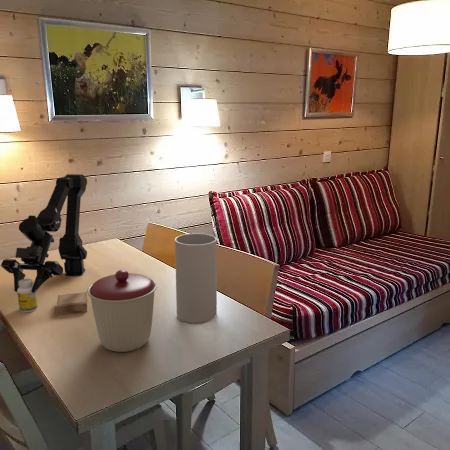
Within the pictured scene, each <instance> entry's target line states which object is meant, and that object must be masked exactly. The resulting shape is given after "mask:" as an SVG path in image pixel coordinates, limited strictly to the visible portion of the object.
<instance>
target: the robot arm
mask: <svg viewBox="0 0 450 450" xmlns="http://www.w3.org/2000/svg"><path fill="white" fill-rule="evenodd" d="M87 186H88V179H87V177H85V175H84V174H76V173H75V174H73V173H72V174H71V173H67V174H66V175H65V176H61V177H60V176H59V177H57V178H56V181H55V186H54V188H53V191H52V193H51V195H50V198H49V200H48V203H47V205H46V206H45V208H43V209H42V210H40V212H39V213H38V214H37V217H36V215H31V214H30V215H28V217H27V218H25V219H23V220H22V221H21V222H20V223H19V224H18V230H19V231H20V233H21V234H23V236H24V237H25V238H26V239H27V240H28V241H31V243H30V245H29V246H26V248H25V247H16V250H15V256H14V257H15V258H14V259H13V258H12V259H11V258H5V259H3V260H2V262H1V264H0V267H1V268H3V270H4V271H6V272H7V273H9V274H12V275H13V285H14V286H13V287H14V288H13V289H14V290H13V291H14V292H15V293H17V290H18V288H19V281H20V280H22V279H26V274H25V273H23V272H24V270H28V271H36V277H35V280H34V282H33V287H32V293H34V292H35V291H36V292H37V290H39V289H40V287H41V286H42V285H43V284H44V283H46V282H47V281H48V280H49V279H50V278H53V277H54V276H56V277H57V276H60V277H62V276H63V273H65V274H64V276H67V277H69V276H74V277H75V276H83V275H84V273H85V272H86V268H85V266H84V265H85V263H84V260H87V256H88V251H87V250H86V249H85V247H84V246H83V240H82V238H81V236H80V234H79V231H80V229H79V228H80V215H81V199H82V197H83V195H84V194H85V192H86V189H87ZM66 200H67V202H66ZM65 202H66V215H65V216H66V217H65V232H64V235H62V237H59V239H58V240H59V241H58V242H59V244H58V252H59V253H58V254H59V257H60V260H62V261H63V260H64V262H63V266H64V268H63V266H62V264H60V263H59V262H58V261H56V260H55V261H54V260H46V258H49V255H50V254H49V253H48V251H49V250H50V249H49V248H50V246H51V244H52V243H55V239H54V236H53V234H51V233H55V232H58V231H59V230H60V228H61V225H62V216H61V212H62V210H63V208H64V205H65ZM17 259H20V261H21V262H23V263H20V262H19V261H18V260H17ZM45 260H46V261H45Z"/></svg>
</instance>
